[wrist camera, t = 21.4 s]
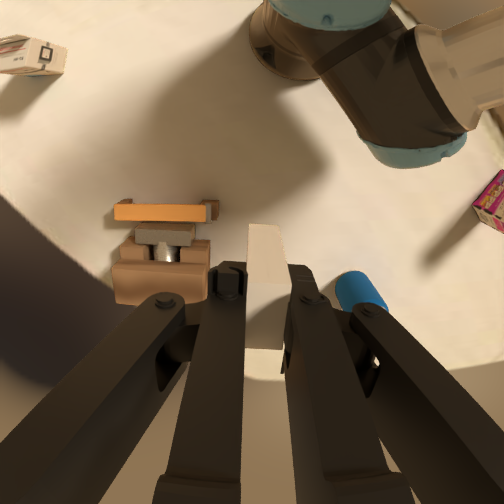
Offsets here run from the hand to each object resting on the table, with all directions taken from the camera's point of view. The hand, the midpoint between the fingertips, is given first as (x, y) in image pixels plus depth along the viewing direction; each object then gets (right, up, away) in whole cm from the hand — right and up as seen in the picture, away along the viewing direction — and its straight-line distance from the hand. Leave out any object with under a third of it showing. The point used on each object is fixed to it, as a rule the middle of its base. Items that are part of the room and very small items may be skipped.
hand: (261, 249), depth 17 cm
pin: (-15, -5, +39) cm, 42 cm away
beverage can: (+17, -6, +39) cm, 43 cm away
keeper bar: (-14, +6, +31) cm, 34 cm away
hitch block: (-14, +2, +36) cm, 39 cm away
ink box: (-36, +33, +24) cm, 55 cm away
